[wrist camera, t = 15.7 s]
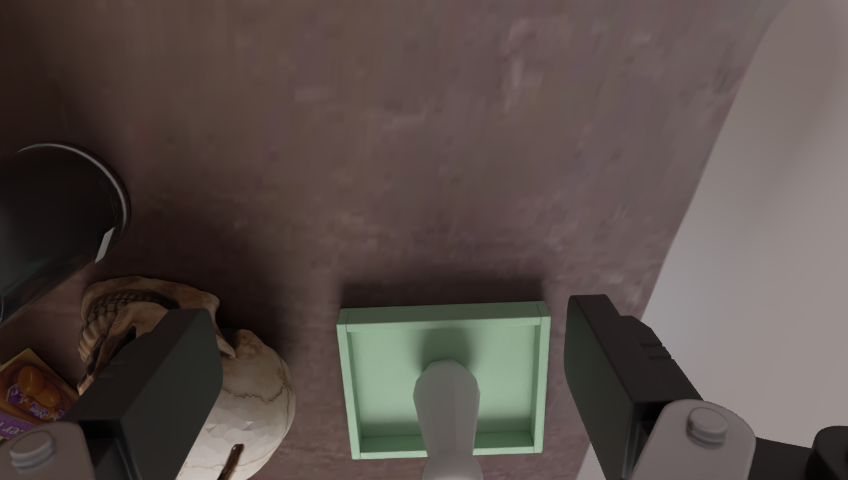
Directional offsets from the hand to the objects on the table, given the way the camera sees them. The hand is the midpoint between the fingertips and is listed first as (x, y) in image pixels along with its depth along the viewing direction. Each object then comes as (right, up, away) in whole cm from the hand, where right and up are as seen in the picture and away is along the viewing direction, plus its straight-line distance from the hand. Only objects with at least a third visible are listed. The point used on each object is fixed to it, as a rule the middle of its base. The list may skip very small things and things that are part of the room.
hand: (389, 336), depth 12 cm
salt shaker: (+3, -10, +37) cm, 38 cm away
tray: (+3, -10, +37) cm, 38 cm away
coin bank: (-20, -7, +36) cm, 41 cm away
